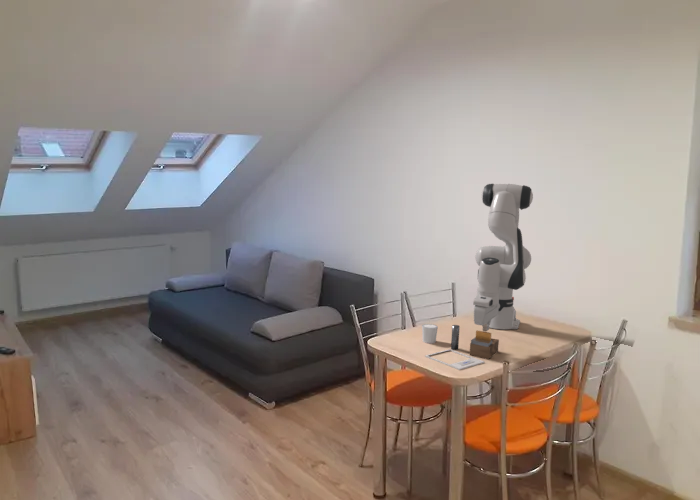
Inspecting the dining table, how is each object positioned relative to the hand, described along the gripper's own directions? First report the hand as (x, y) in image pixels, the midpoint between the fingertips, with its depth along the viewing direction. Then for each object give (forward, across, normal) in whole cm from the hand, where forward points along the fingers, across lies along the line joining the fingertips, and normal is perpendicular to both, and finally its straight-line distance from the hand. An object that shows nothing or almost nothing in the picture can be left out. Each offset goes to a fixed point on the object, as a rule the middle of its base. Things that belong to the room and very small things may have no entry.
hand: (485, 330), depth 227 cm
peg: (+9, +4, -12) cm, 15 cm away
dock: (+9, +2, 0) cm, 9 cm away
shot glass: (+10, +1, -25) cm, 26 cm away
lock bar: (+4, +5, 0) cm, 7 cm away
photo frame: (+10, +16, -6) cm, 20 cm away
